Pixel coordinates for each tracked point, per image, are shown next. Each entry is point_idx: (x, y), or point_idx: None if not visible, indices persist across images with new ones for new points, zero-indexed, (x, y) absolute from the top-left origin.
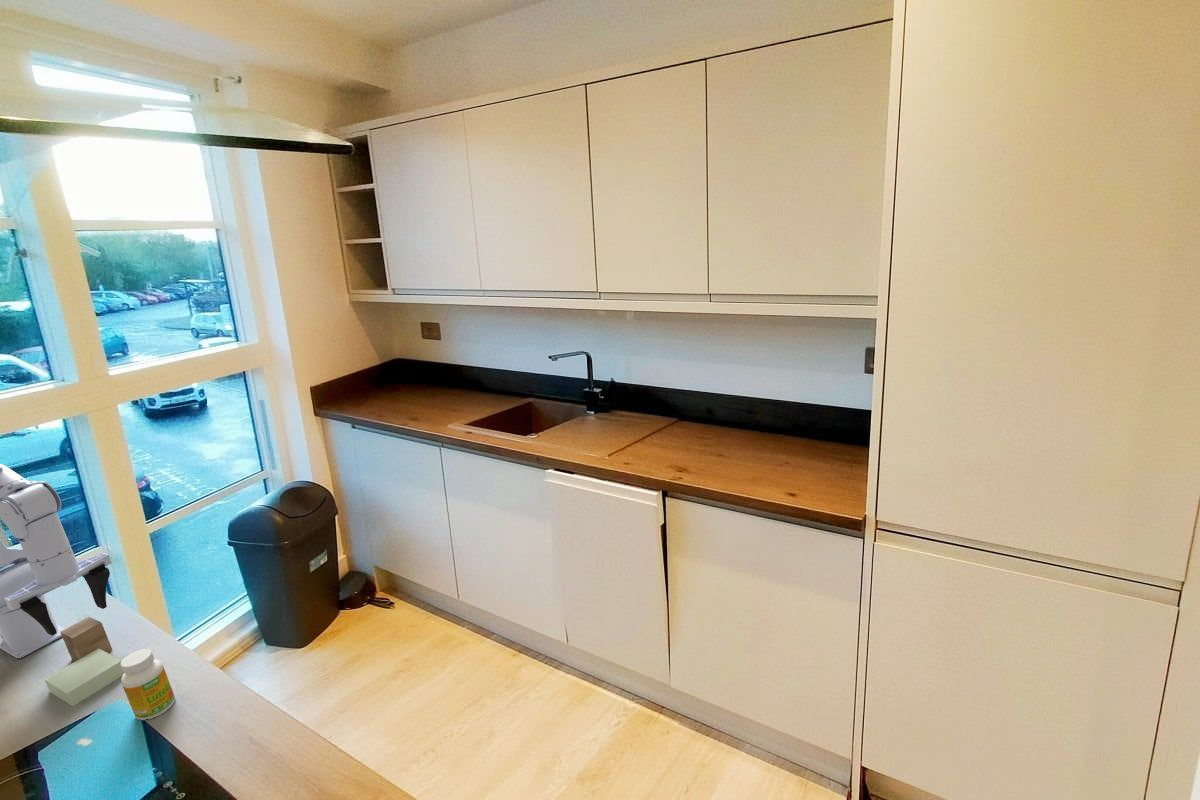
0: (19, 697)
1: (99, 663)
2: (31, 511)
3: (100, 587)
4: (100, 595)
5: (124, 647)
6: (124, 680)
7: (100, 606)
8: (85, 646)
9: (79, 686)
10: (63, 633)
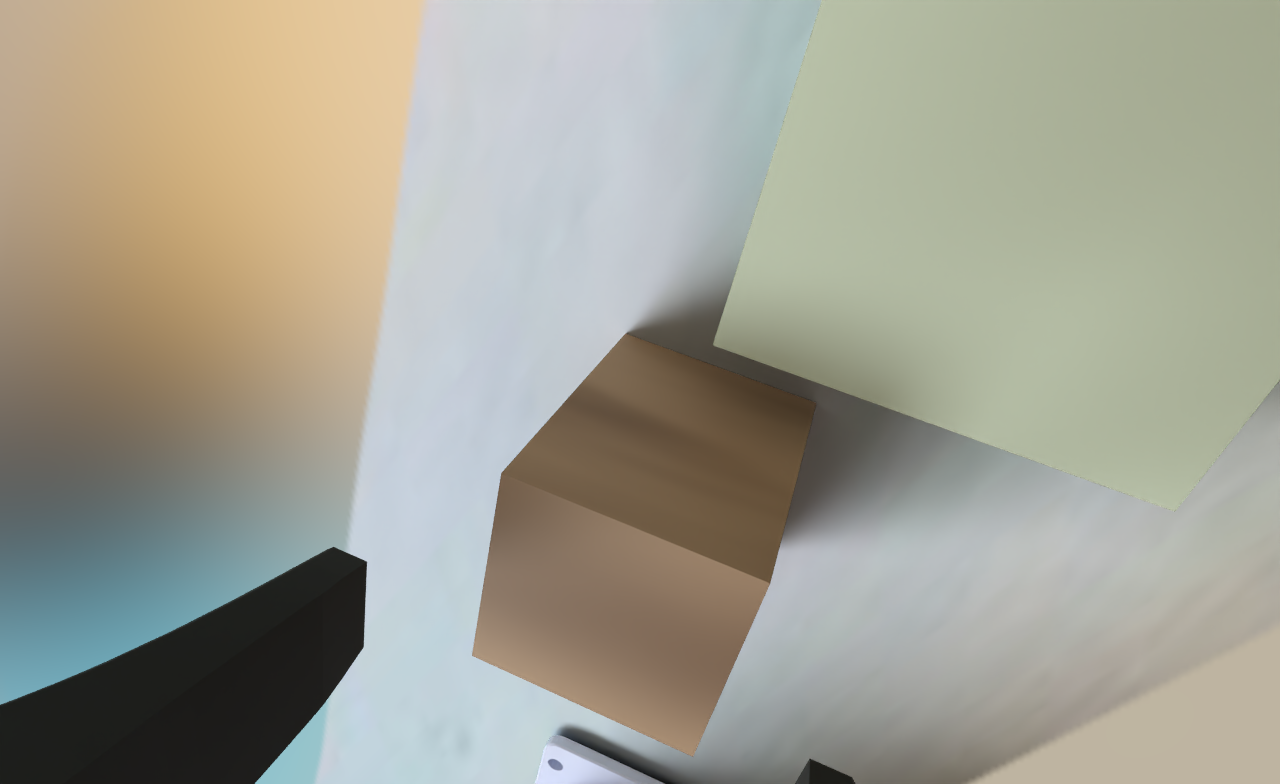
0: (1174, 619)
1: (940, 95)
2: None
3: (34, 763)
4: (196, 676)
5: (588, 252)
6: None
7: (348, 604)
8: (732, 461)
9: None
10: (708, 715)
